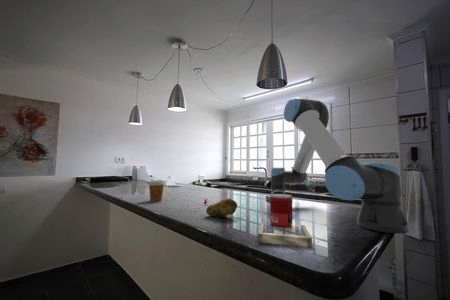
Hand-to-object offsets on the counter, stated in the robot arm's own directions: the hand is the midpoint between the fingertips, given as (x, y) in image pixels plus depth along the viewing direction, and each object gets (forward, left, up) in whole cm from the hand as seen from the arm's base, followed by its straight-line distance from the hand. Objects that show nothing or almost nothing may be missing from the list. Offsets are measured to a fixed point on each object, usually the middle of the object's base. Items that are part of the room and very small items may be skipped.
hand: (280, 205), depth 85 cm
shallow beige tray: (0, +21, -6) cm, 21 cm away
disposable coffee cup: (+72, -26, -6) cm, 77 cm away
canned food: (0, +7, -6) cm, 9 cm away
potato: (+24, +2, -6) cm, 25 cm away
